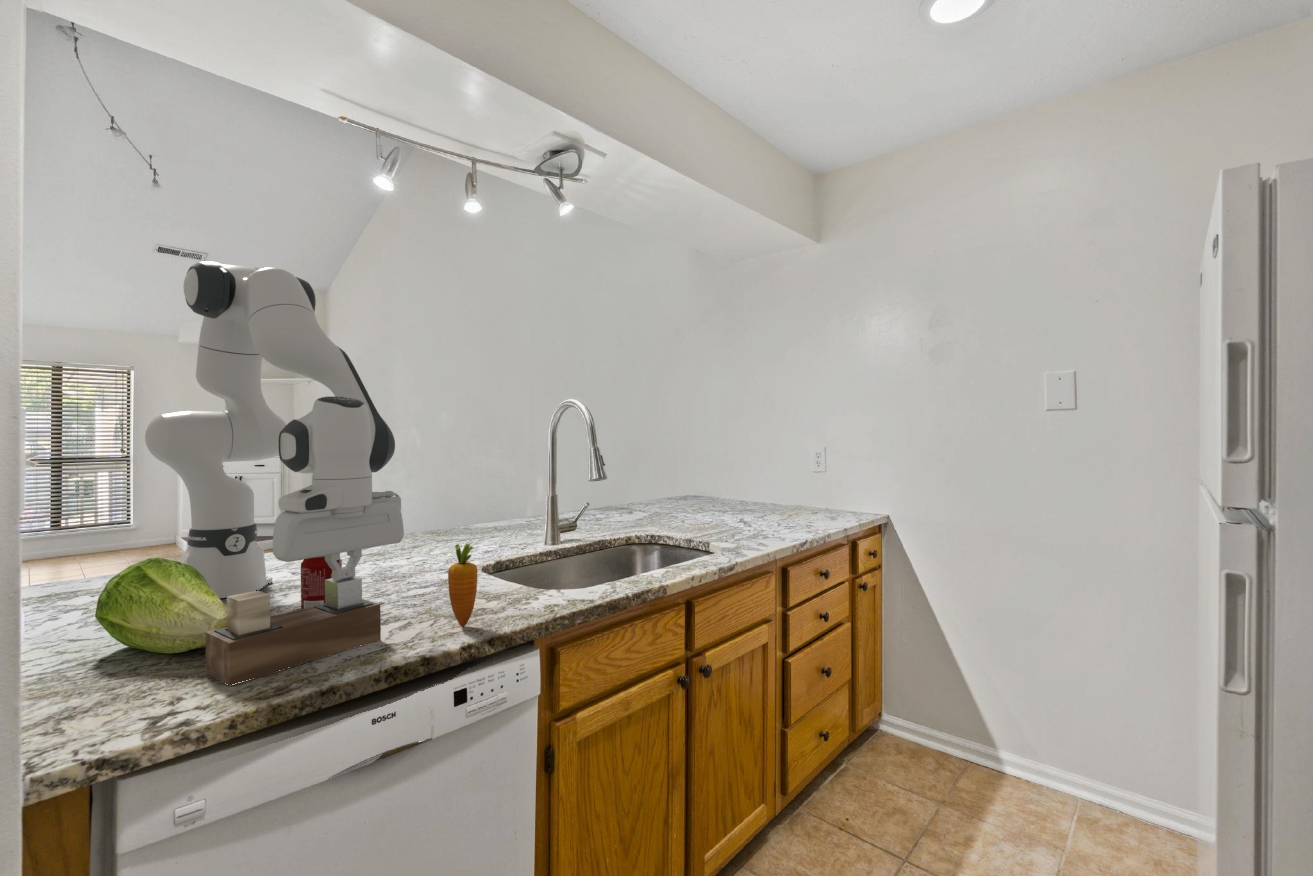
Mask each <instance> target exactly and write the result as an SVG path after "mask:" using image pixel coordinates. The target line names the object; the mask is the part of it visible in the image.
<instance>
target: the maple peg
mask: <svg viewBox="0 0 1313 876" xmlns="http://www.w3.org/2000/svg"><path fill="white" fill-rule="evenodd" d="M226 606H227V631H228V632H230V633H233V634H235V635H237V636H239V635H243V634H247V633H251V632H255V631H259V630H263V629H267V628H270V617H271V595H270V593H266V592H263V591H260V590H257V591H252V592H247V593H242V594H237V595H232V596H227V597H226Z"/></svg>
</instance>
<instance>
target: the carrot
mask: <svg viewBox="0 0 1313 876" xmlns="http://www.w3.org/2000/svg"><path fill="white" fill-rule="evenodd" d="M454 548H455V553H456V554H455V555H456V558H457V560H458V562H455V563H453V564H452V565H451V566H449V567H448V569H447V570H448V571H447V576H448V577H447V578H448V593H449V596H448V597H449V599H450V604H451V609H452V611H453V615H454V616H455V619H456V620H457V622H458V625H460V626H461V627H462V628H464V627H466V625H467V624H468V623H469V620H470V618H471V616H472V614H473V611H474V607H475V602H476V597H477V590H478V589H477V588H478V567H477V565H476V564H475V563H473V562H471V561H468V560H470V558H471V557H472V555H471V554H469V553H470V552H471V551H472V550H473V549H474V546H473V545H471V546H470V543H465V544H464V547H463V549H461V546H460V544H459V543H457V544H455V545H454Z"/></svg>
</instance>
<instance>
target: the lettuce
mask: <svg viewBox="0 0 1313 876" xmlns="http://www.w3.org/2000/svg"><path fill="white" fill-rule="evenodd" d="M177 561H178V560H172V559H166V558H163V557H149V558H146V559H144V560H142V561H138V562H137V563H134V564H132V565H128V566H127V567H126V568H124V569H123V570H121V571H120V572H119V573H117V574H116V575H114V576H113V577H112V578H110V579H109V580H108V581H107V583H106V585H105V586H104V588H103V590H102V591H101V593H100V594H99V596H98V598H97V602H96V603H97V604H96V608H95V614H94V617H95V619H96V621H97V622H98V623H99V624H100V625H101V626H102V628H103V629H104V630H105V631H106V632H107V633H108V634H109V636H110V637H111V638H113V640H115V641H118V642H119V643H121V644H122V645H124V646H126V647H129V648H133V649H136V650H138V649H139V650H142V651H147V652H152V653H156V654H158V653H159V654H177V653H179V654H180V653H184V652H188V651H191V650H197V649H202V648H206V636H205V632H208V631H212V630H216V629H221V628H225V627H227V604H225V603H224V602H223V601H222V600H221V598H219V597H218V595H217V594H216V593H215V592H214V591H213V590H212V589H211V588H210V587H209V585H208V584H207V583H206V581H205V579H204V577H203V576H202V575H201V574H200V573H199V572H198V571H197V570H196V569H195V568H194V567H192V566H189V565H186V564H183V563H180V562H177Z"/></svg>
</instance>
